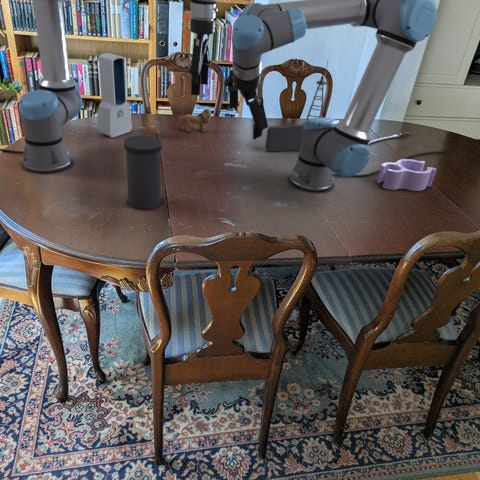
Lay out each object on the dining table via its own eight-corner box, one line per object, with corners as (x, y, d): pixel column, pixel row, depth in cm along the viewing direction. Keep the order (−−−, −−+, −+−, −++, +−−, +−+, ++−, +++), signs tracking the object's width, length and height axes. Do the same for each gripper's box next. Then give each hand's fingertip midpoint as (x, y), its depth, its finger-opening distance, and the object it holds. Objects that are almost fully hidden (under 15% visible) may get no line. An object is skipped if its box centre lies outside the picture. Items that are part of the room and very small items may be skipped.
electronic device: (110, 138, 183) (105, 58, 167) (97, 133, 186) (90, 54, 170) (132, 130, 192) (130, 54, 176) (119, 126, 195) (115, 50, 179)
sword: (406, 132, 223) (406, 130, 222) (411, 134, 221) (412, 132, 220) (362, 144, 207) (363, 141, 206) (368, 146, 205) (368, 143, 204)
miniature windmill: (321, 130, 214) (334, 62, 198) (303, 128, 215) (314, 60, 199) (322, 124, 222) (335, 58, 205) (305, 122, 223) (316, 56, 206)
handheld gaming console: (315, 147, 196) (319, 124, 190) (317, 149, 194) (322, 126, 188) (264, 149, 189) (267, 125, 183) (266, 152, 187) (269, 127, 181)
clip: (389, 193, 165) (394, 175, 161) (370, 177, 175) (375, 160, 171) (435, 189, 171) (441, 172, 167) (414, 174, 181) (420, 158, 177)
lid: (150, 157, 129) (150, 152, 128) (116, 149, 131) (116, 144, 130) (168, 145, 137) (168, 140, 136) (136, 138, 140) (135, 132, 139)
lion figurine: (208, 127, 204) (210, 107, 199) (212, 131, 200) (213, 111, 195) (176, 128, 199) (176, 107, 195) (179, 132, 195) (179, 111, 190)
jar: (150, 212, 139) (150, 152, 128) (122, 205, 141) (119, 145, 131) (165, 199, 147) (165, 141, 136) (138, 192, 149) (136, 135, 138)
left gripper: (207, 26, 131) (203, 101, 142) (221, 15, 152) (217, 81, 163) (181, 22, 131) (179, 98, 143) (198, 12, 152) (196, 78, 164)
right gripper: (210, 46, 128) (214, 98, 147) (260, 109, 120) (256, 155, 139) (234, 36, 130) (234, 89, 149) (284, 97, 121) (277, 144, 141)
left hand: (199, 89), depth 153 cm, fingers open, 13 cm apart
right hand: (245, 121), depth 144 cm, fingers open, 13 cm apart
